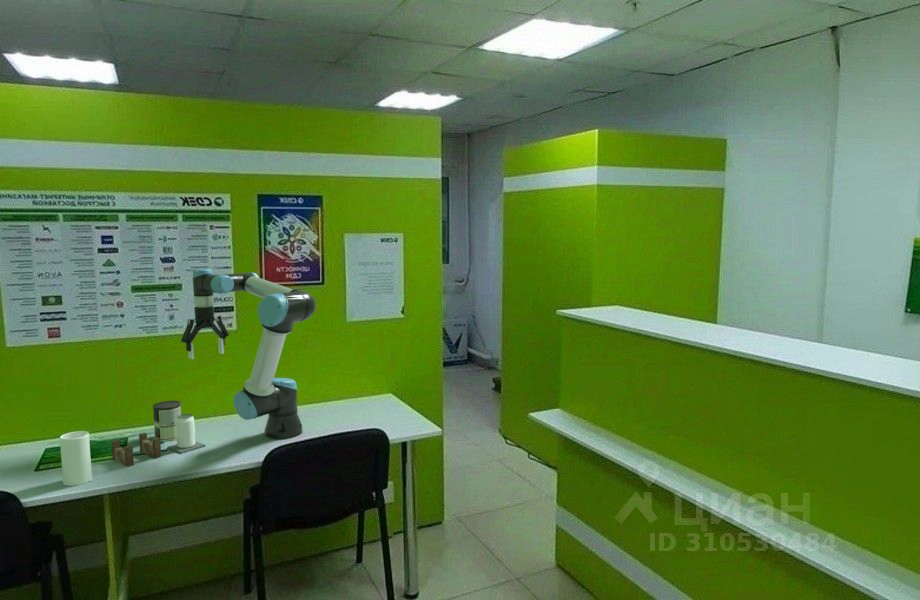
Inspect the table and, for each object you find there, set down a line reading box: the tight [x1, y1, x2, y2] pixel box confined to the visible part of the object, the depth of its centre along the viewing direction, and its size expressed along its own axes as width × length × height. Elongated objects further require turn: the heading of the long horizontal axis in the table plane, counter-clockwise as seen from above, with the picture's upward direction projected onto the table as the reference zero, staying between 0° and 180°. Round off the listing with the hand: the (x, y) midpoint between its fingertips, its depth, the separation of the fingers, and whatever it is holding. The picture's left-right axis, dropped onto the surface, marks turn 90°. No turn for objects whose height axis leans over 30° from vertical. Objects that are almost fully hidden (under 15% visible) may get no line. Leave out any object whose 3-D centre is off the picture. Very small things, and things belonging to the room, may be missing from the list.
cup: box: [59, 430, 93, 487], centre depth 203 cm, size 8×8×16 cm
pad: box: [166, 440, 206, 454], centre depth 235 cm, size 10×10×1 cm
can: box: [176, 413, 196, 448], centre depth 235 cm, size 6×6×12 cm
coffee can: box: [152, 400, 182, 442], centre depth 246 cm, size 10×10×14 cm
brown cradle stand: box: [110, 432, 162, 467], centre depth 224 cm, size 12×12×7 cm
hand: (206, 356), depth 254 cm, fingers open, 13 cm apart
